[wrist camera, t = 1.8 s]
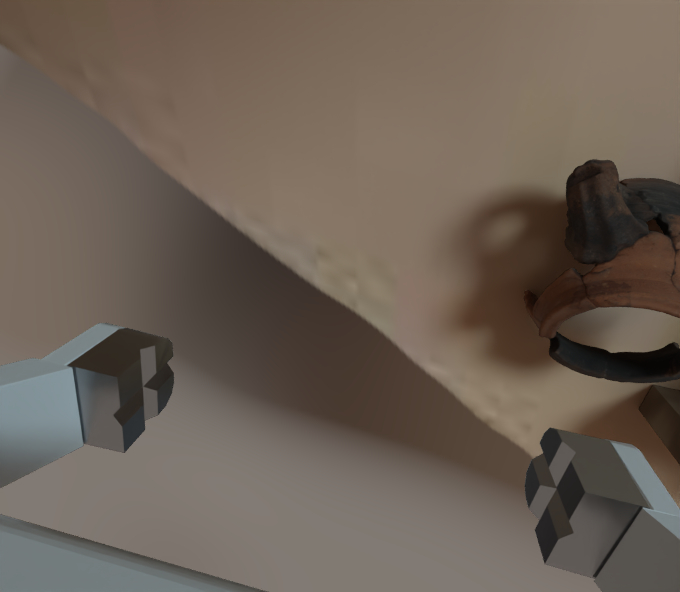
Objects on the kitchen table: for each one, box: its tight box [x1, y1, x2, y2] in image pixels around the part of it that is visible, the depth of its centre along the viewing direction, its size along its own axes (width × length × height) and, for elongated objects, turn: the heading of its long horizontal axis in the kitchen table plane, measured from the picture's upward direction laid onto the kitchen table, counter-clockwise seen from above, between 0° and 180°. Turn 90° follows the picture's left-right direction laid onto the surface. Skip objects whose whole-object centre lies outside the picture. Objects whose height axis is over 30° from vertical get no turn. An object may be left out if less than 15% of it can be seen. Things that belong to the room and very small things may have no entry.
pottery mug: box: [524, 160, 680, 383], centre depth 21 cm, size 12×10×8 cm
